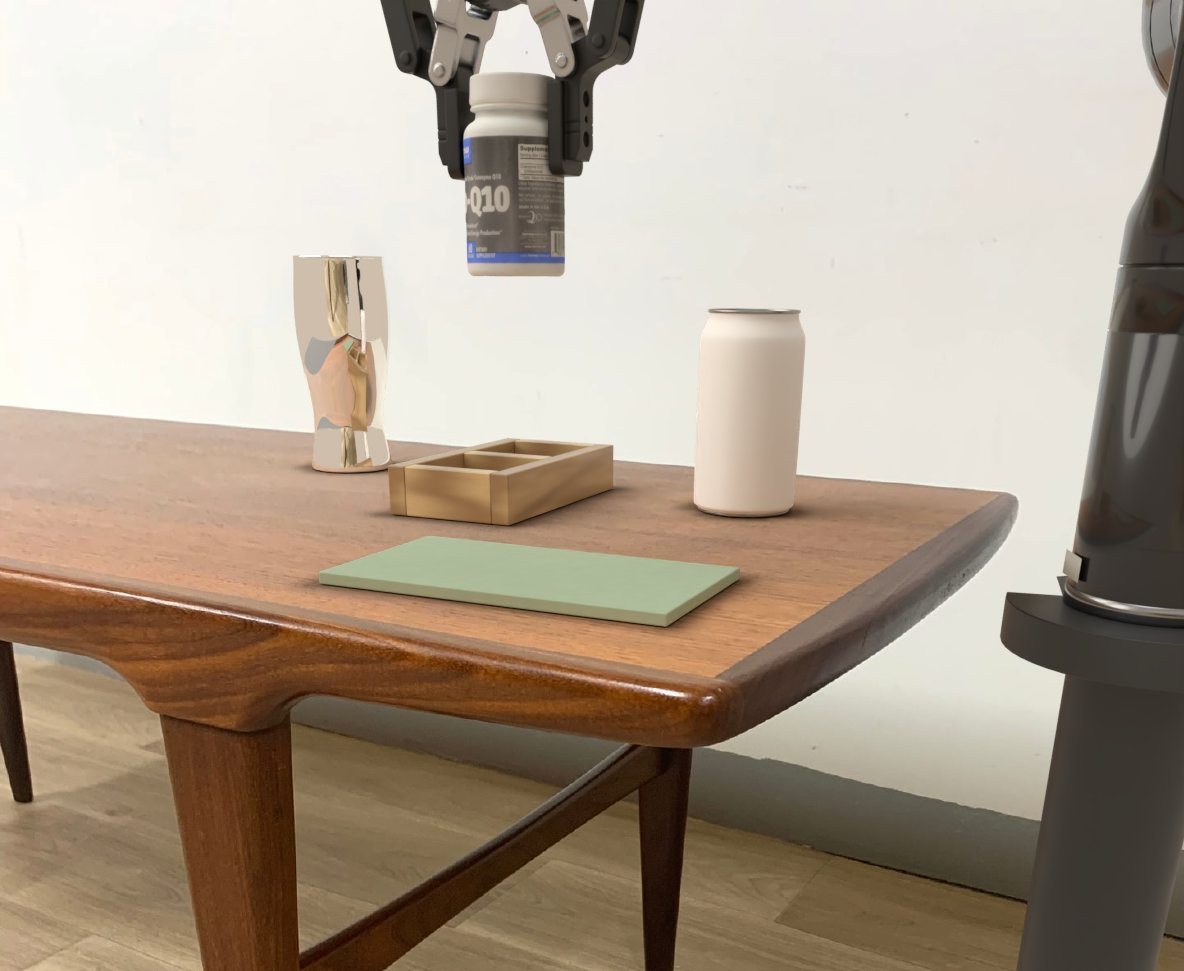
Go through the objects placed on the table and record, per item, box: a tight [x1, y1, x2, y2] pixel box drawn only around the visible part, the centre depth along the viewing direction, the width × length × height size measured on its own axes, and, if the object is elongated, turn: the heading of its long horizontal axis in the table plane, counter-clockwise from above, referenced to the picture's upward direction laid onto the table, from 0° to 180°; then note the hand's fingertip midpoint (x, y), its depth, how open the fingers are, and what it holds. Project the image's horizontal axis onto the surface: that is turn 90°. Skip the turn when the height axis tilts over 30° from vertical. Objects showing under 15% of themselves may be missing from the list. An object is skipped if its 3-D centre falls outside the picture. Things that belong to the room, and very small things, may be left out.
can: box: [693, 307, 806, 518], centre depth 76 cm, size 6×6×12 cm
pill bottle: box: [463, 71, 566, 278], centre depth 57 cm, size 5×5×8 cm
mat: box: [318, 535, 741, 628], centre depth 59 cm, size 18×10×1 cm, turn 65°
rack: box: [387, 437, 614, 527], centre depth 80 cm, size 8×16×3 cm, turn 156°
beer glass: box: [291, 254, 393, 474], centre depth 92 cm, size 7×7×15 cm
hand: (514, 175), depth 57 cm, fingers closed on pill bottle, 4 cm apart
